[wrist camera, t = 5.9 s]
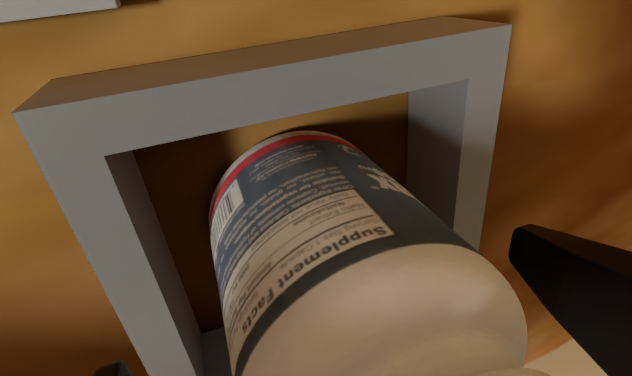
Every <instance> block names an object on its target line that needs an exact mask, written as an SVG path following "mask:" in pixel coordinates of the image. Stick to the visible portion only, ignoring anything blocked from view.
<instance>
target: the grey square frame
mask: <svg viewBox="0 0 632 376" xmlns="http://www.w3.org/2000/svg"><path fill="white" fill-rule="evenodd" d="M511 31H512V24H506V23H498V22H489V21H481V20H472V19H464V18H456V17H447V16H439V17H433V18H427V19H421V20H415V21H409V22H402V23H396V24H390V25H384V26H378V27H372V28H365V29H359V30H353V31H347V32H341V33H335V34H328V35H322V36H316V37H310V38H304V39H298V40H292V41H285V42H279V43H273V44H267V45H261V46H255V47H248V48H242V49H236V50H230V51H224V52H218V53H211V54H205V55H199V56H193V57H187V58H181V59H174V60H168V61H162V62H156V63H150V64H144V65H138V66H131V67H125V68H119V69H113V70H107V71H101V72H94V73H88V74H82V75H76V76H70V77H64V78H57V79H52V80H50V81H49V82H48V83H47V84H46V85H44V86H43V87H42V88H41V89H40V90H38V91H37V92H36V93H35V94H34V95H32V96H31V97H30V98H29V99H27V100H26V101H25V102H24V103H23V104H21V105H20V106H19V107H18V108H17V109H15V110H14V111H13V112H12V113H11V114H12V116H13V118H14V119H15V121H16V123H17V125H18V127H19V129H20V131H21V133H22V135H23V137H24V139H25V140H26V142H27V144H28V146H29V148H30V150H31V152H32V154H33V156H34V158H35V159H36V161H37V163H38V165H39V167H40V169H41V171H42V173H43V175H44V177H45V179H46V180H47V182H48V184H49V186H50V188H51V190H52V192H53V194H54V196H55V198H56V200H57V201H58V203H59V205H60V207H61V209H62V211H63V213H64V215H65V217H66V219H67V220H68V222H69V224H70V226H71V228H72V230H73V232H74V234H75V236H76V238H77V240H78V241H79V243H80V245H81V247H82V249H83V251H84V253H85V255H86V257H87V259H88V260H89V262H90V264H91V266H92V268H93V270H94V272H95V274H96V276H97V278H98V280H99V281H100V283H101V285H102V287H103V289H104V291H105V293H106V295H107V297H108V299H109V300H110V302H111V304H112V306H113V308H114V310H115V312H116V314H117V316H118V318H119V320H120V321H121V323H122V325H123V327H124V329H125V331H126V333H127V335H128V337H129V339H130V340H131V342H132V344H133V346H134V348H135V350H136V352H137V354H138V356H139V358H140V360H141V361H142V363H143V365H144V367H145V369H146V371H147V373H148V375H149V376H232V370H231V364H230V357H229V351H228V345H227V339H226V333H225V327H221V328H218V329H215V330H212V331H209V332H206V333H203V334H201V331H200V329H199V326H198V324H197V321H196V318H195V316H194V313H193V310H192V308H191V305H190V302H189V300H188V297H187V294H186V292H185V289H184V286H183V284H182V281H181V278H180V276H179V273H178V271H177V268H176V265H175V263H174V260H173V257H172V255H171V252H170V249H169V247H168V244H167V241H166V239H165V236H164V233H163V231H162V228H161V225H160V223H159V220H158V217H157V215H156V212H155V210H154V207H153V204H152V202H151V199H150V196H149V194H148V191H147V188H146V186H145V183H144V180H143V178H142V175H141V172H140V170H139V167H138V164H137V162H136V159H135V157H134V154H133V151H132V150H135V149H140V148H144V147H149V146H154V145H159V144H163V143H168V142H173V141H178V140H182V139H187V138H192V137H196V136H201V135H206V134H211V133H215V132H220V131H225V130H230V129H234V128H239V127H244V126H248V125H253V124H258V123H263V122H267V121H272V120H277V119H282V118H286V117H291V116H296V115H300V114H305V113H310V112H315V111H319V110H324V109H329V108H334V107H338V106H343V105H348V104H353V103H357V102H362V101H367V100H371V99H376V98H381V97H386V96H390V95H395V94H400V93H405V92H409V93H408V136H407V179H406V190H407V191H408V192H409V193H411V194H412V195H413V196H414V197H415V198H416V199H417V200H418V201H420V202H421V203H422V204H423V205H424V206H426V207H427V208H428V209H429V210H431V211H432V212H433V213H434V214H435V215H436V216H438V217H439V218H440V219H441V220H442V221H443V222H444V223H445V224H446V225H447V226H449V227H450V228H451V229H452V230H453V231H454V232H456V233H457V234H458V235H459V236H460V237H462V238H463V239H464V240H465V241H466V242H467V243H469V244H470V245H471V246H472V247H473V248H475V249H476V250H477V251H478V252H479V245H480V239H481V232H482V225H483V219H484V212H485V205H486V198H487V192H488V185H489V178H490V172H491V165H492V158H493V151H494V145H495V138H496V131H497V125H498V118H499V111H500V105H501V98H502V91H503V84H504V78H505V71H506V64H507V58H508V51H509V44H510V37H511Z"/></svg>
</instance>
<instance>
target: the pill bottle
mask: <svg viewBox="0 0 632 376" xmlns="http://www.w3.org/2000/svg"><path fill="white" fill-rule="evenodd" d="M209 234H210V242H211V248H212V254H213V260H214V267H215V272H216V279H217V284H218V290H219V296H220V303H221V309H222V314H223V321H224V327H225V333H226V339H227V345H228V351H229V357H230V364H231V370H232V376H549V375H548V374H546V373H544V372H541V371H538V370H534V369H528V368H523V366H524V362H525V358H526V352H527V342H528V334H527V324H526V319H525V315H524V311H523V308H522V306H521V303H520V301H519V299H518V297H517V295H516V293H515V291H514V290H513V288H512V287H511V285H510V284H509V282H508V281H507V280H506V279H505V277H504V276H503V275H502V274H501V273H500V272H499V271H498V270H497V269H496V268H495V267H494V265H492V264H491V263H490V262H489V261H488V260H487V259H486V258H485V257H484V256H482V255H481V254H480V253H479V252H478V251H477V250H476V249H475V248H473V247H472V246H471V245H470V244H469V243H467V242H466V241H465V240H464V239H463V238H462V237H460V236H459V235H458V234H457V233H456V232H454V231H453V230H452V229H451V228H450V227H449V226H447V225H446V224H445V223H444V222H443V221H442V220H441V219H440V218H439V217H438V216H436V215H435V214H434V213H433V212H432V211H431V210H429V209H428V208H427V207H426V206H424V205H423V204H422V203H421V202H420V201H418V200H417V199H416V198H415V197H414V196H413V195H412V194H411V193H409V192H408V191H407V190H406V189H405V188H404V187H403V186H401V185H400V184H399V183H398V182H396V181H395V180H394V179H393V178H392V177H391V176H390V175H388V174H387V173H386V172H385V171H384V170H382V169H381V168H380V167H379V166H378V165H377V164H376V163H374V162H373V161H372V160H371V159H370V158H369V157H368V156H367V155H365V154H364V153H363V152H362V151H360V150H359V149H358V148H356V147H355V146H354V145H352V144H351V143H349V142H348V141H346V140H344V139H342V138H340V137H338V136H335V135H332V134H328V133H325V132H319V131H294V132H288V133H284V134H280V135H277V136H274V137H271V138H268V139H266V140H264V141H262V142H260V143H258V144H257V145H255V146H253V147H252V148H250V149H249V150H247V151H246V152H245V153H243V154H242V155H241V156H240V157H239V158H238V159H237V160H235V161H234V162H233V164H232V165H231V166H230V167H229V168H228V169H227V171H226V172H225V173H224V175H223V176H222V178H221V179H220V181H219V183H218V185H217V187H216V189H215V192H214V194H213V197H212V200H211V204H210V210H209Z"/></svg>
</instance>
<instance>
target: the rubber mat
mask: <svg viewBox="0 0 632 376" xmlns="http://www.w3.org/2000/svg"><path fill="white" fill-rule="evenodd" d="M120 6H122V5H121V2H120V0H0V23H1V22H9V21H17V20H25V19H33V18H41V17H49V16H56V15H64V14H72V13H80V12H88V11H96V10H104V9H112V8H118V7H120Z"/></svg>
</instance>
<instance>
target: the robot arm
mask: <svg viewBox="0 0 632 376" xmlns="http://www.w3.org/2000/svg"><path fill="white" fill-rule="evenodd" d="M508 255H509V260H510V262H511V264H512V265H513V266H514V268H515V269H516V270H517V272H518V273H519V274H520V275H521V277H522V278H523V279H524V281H525V282H526V283H527V284H528V286H529V287H530V288H531V290H532V291H533V292H534V293H535V295H536V296H537V297H538V298H539V300H540V301H541V302H542V304H543V305H544V306H545V307H546V309H547V310H548V311H549V312H550V313H551V315H552V316H553V317H554V318H555V319H556V320H557V321H558V323H559V324H560V325H561V326H562V327H563V328H564V329H565V330H566V331H567V332H568V333H569V334H570V335H571V336H572V338H573V339H574V340H575V341H576V342H577V343H578V344H579V345H580V346H581V347H582V348H583V349H584V350H585V351H586V352H587V354H588V355H589V356H590V357H591V358H592V359H593V360H594V361H595V362H596V363H597V364H598V365H599V366H600V367H601V369H602V370H604V372H605V373H606V374H607V375H608V376H632V252H631V251H627V250H624V249H620V248H616V247H613V246H609V245H606V244H602V243H598V242H595V241H591V240H588V239H584V238H580V237H577V236H573V235H570V234H566V233H562V232H559V231H555V230H552V229H548V228H544V227H541V226H537V225H533V224H528V225H524V226H521V227H518V228H516V229H515V230H514V231H513V234H512V239H511V243H510V248H509V254H508ZM92 376H132V375H131V373H130V371H129V370H128V368H127V366H126V364H125V363H124V362H123V361H121V360H118V361H115V362H112V363H109V364H106V365H103V366H100V367H99V368H98V369H97V370H96V371H95V372H94V373H93V375H92Z"/></svg>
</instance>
